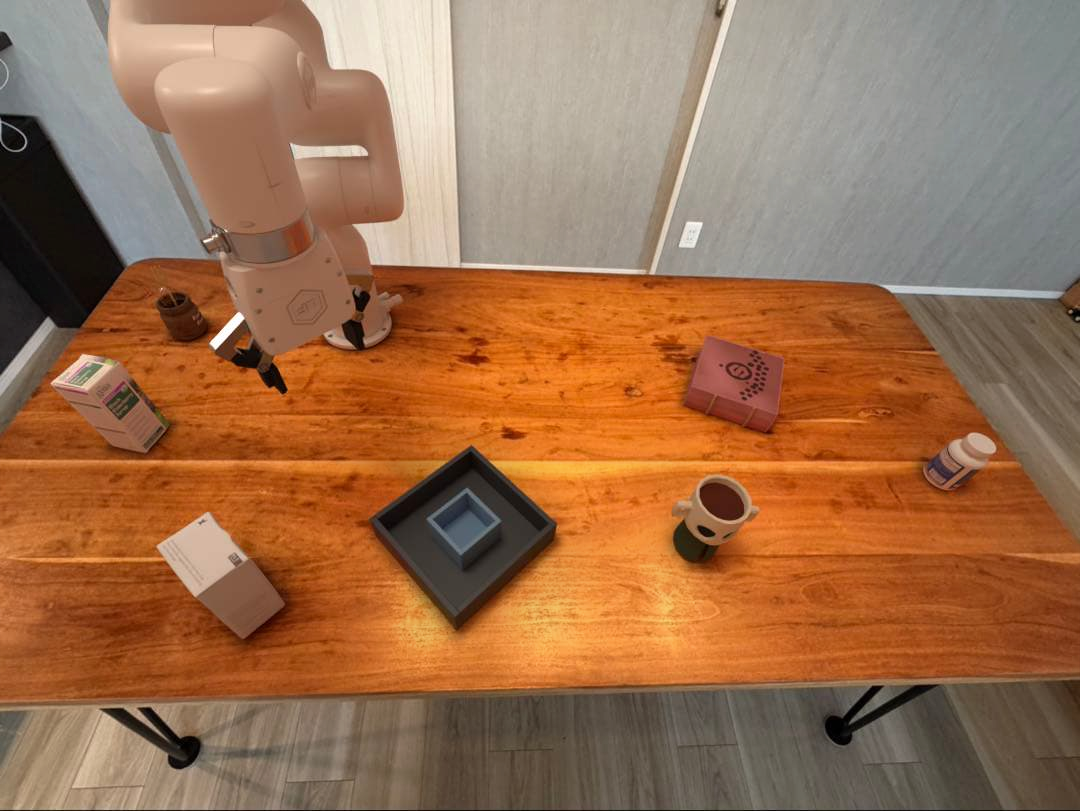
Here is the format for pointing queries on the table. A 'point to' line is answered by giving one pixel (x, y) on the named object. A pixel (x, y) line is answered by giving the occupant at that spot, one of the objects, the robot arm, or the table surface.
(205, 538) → the cosmetic box
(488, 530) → the small bin
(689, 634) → the table surface
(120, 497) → the table surface
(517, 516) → the large bin
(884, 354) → the table surface
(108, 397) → the syrup box
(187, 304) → the utensil holder
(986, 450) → the pill bottle
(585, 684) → the table surface
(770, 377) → the book
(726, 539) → the character mug
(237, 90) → the robot arm
